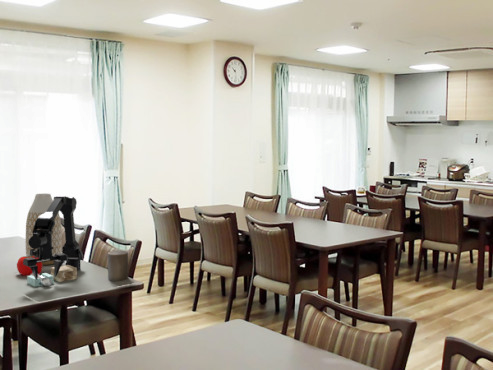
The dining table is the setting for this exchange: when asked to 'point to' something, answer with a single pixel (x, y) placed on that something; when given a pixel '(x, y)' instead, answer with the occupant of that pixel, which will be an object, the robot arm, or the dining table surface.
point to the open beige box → (65, 273)
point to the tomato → (25, 269)
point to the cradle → (34, 282)
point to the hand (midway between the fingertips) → (46, 278)
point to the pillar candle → (117, 265)
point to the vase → (36, 210)
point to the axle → (43, 280)
